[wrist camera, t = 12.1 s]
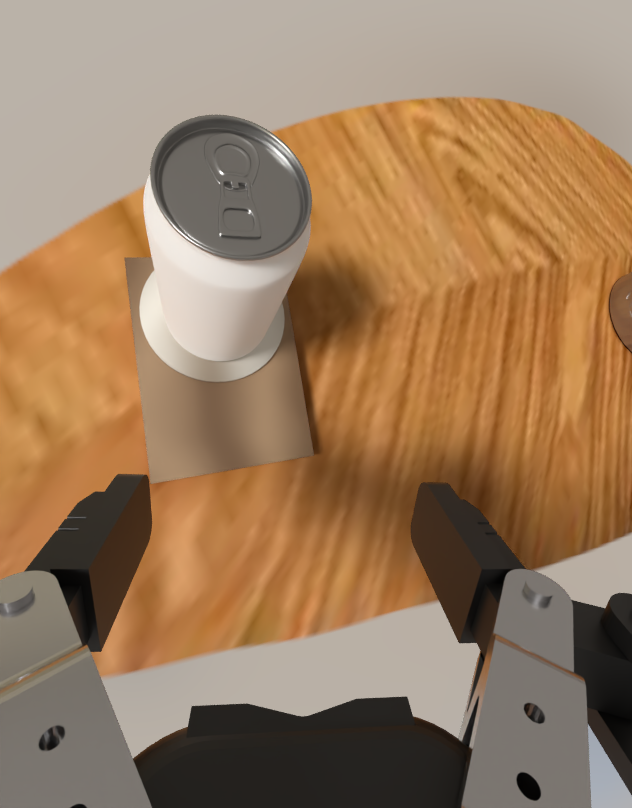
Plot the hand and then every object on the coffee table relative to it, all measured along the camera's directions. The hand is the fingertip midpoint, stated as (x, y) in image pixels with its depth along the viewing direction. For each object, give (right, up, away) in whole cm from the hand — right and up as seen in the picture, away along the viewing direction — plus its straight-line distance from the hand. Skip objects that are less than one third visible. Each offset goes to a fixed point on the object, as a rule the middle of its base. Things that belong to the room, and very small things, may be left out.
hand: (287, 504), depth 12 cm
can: (-6, +9, +14) cm, 17 cm away
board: (-6, +6, +15) cm, 17 cm away
